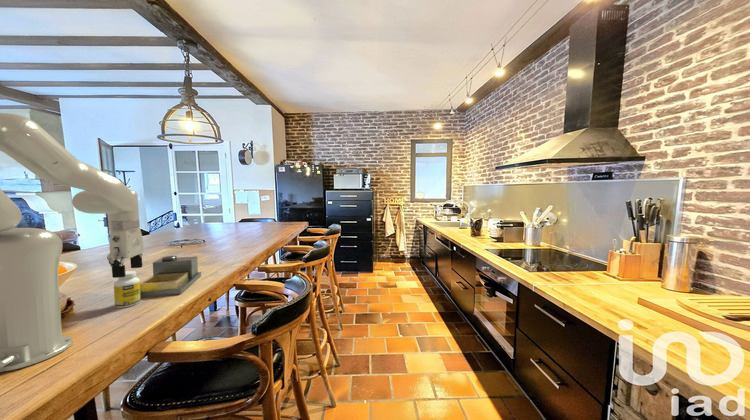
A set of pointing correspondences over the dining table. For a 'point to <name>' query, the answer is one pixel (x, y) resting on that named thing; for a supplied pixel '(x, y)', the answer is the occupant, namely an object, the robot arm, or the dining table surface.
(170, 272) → the tray
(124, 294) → the pill bottle
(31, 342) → the robot arm
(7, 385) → the dining table surface
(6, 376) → the dining table surface
